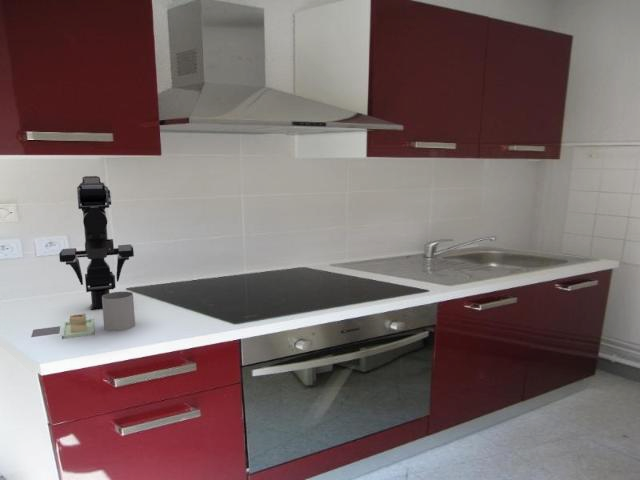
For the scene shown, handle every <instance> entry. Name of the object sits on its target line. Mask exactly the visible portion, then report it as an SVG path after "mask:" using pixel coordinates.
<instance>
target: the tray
mask: <svg viewBox="0 0 640 480" xmlns="http://www.w3.org/2000/svg"><path fill="white" fill-rule="evenodd" d="M93 335H95V321H94V318H91V319H86V331H80V332H73V333H71V329H70V321H67V322H66V321H65V322H63V327H62V334H61V339H62V340H64V339H73V338H78V337H80V338H81V337H86V336H93Z"/></svg>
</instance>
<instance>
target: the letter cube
mask: <svg viewBox="0 0 640 480" xmlns="http://www.w3.org/2000/svg"><path fill="white" fill-rule="evenodd" d="M86 320H87V319H86V313H80V314H71V315H69V322H70V329H71V333H73V332H80V331H86Z"/></svg>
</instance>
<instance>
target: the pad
mask: <svg viewBox="0 0 640 480" xmlns="http://www.w3.org/2000/svg"><path fill="white" fill-rule="evenodd" d="M60 331H61V325H59V326H58V325H57V326H52V327H51V326H50V327H44V328H36V329H33V330H32V333H31V335H30V337H31V338H37V337H43V336H50V335H51V336H52V335H57V334H60Z"/></svg>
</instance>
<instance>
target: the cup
mask: <svg viewBox="0 0 640 480" xmlns="http://www.w3.org/2000/svg"><path fill="white" fill-rule="evenodd" d="M102 305H103V309H102V317H103V327H104V331H107V332H110V333H111V332H112V333H113V332H123V331H128V330H132V329H133V328H135V326H136V315H135V301H134V293H133V292H132V291H113V292H110V293H108V294H105V295H103V296H102Z"/></svg>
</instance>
